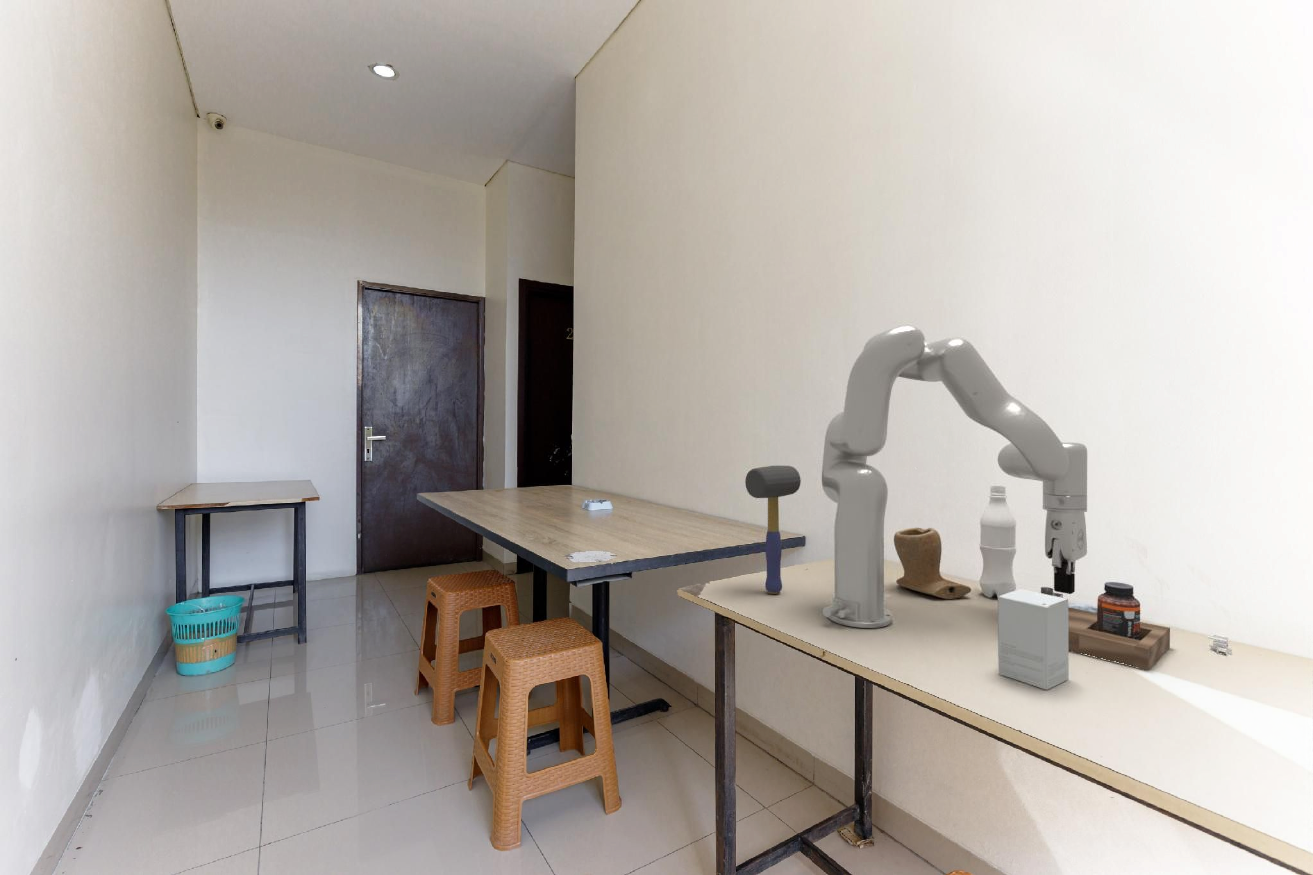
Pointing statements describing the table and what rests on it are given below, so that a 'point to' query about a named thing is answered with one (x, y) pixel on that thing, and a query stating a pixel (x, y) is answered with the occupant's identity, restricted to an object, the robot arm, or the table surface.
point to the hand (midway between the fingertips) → (1064, 591)
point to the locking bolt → (1050, 592)
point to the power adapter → (1220, 644)
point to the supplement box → (1033, 638)
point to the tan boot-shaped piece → (924, 564)
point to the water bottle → (997, 545)
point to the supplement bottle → (1118, 611)
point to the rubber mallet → (773, 512)
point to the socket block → (1116, 641)
